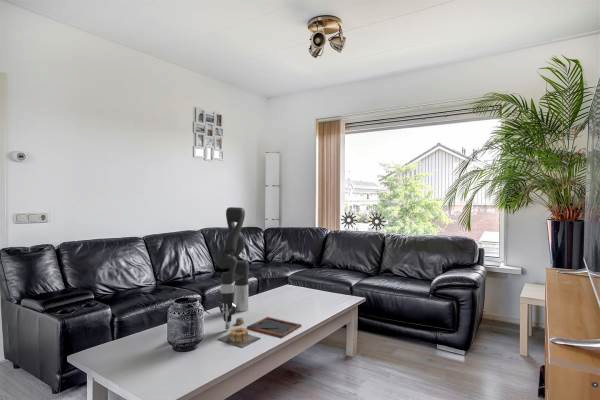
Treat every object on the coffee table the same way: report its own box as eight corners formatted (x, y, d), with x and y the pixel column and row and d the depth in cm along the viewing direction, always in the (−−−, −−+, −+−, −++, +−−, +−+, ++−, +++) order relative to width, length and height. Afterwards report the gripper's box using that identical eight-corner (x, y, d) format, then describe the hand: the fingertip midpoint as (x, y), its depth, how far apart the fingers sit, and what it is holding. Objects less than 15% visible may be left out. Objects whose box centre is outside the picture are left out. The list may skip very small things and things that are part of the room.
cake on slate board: (217, 339, 185) (217, 331, 185) (236, 331, 196) (236, 323, 196) (242, 347, 175) (242, 339, 175) (260, 338, 186) (260, 330, 186)
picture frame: (246, 329, 201) (282, 339, 188) (246, 326, 201) (282, 335, 188) (267, 319, 218) (301, 327, 204) (267, 316, 218) (301, 324, 204)
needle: (224, 328, 198) (224, 307, 197) (227, 327, 200) (227, 306, 199) (227, 329, 196) (227, 308, 196) (230, 328, 198) (230, 307, 198)
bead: (234, 324, 208) (234, 319, 208) (239, 322, 212) (239, 317, 212) (239, 325, 206) (239, 320, 206) (245, 323, 209) (245, 318, 209)
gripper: (214, 290, 198) (214, 320, 199) (231, 294, 191) (231, 325, 191) (223, 287, 205) (223, 316, 205) (241, 291, 197) (240, 321, 197)
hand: (227, 321), depth 198 cm, fingers closed on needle, 2 cm apart
